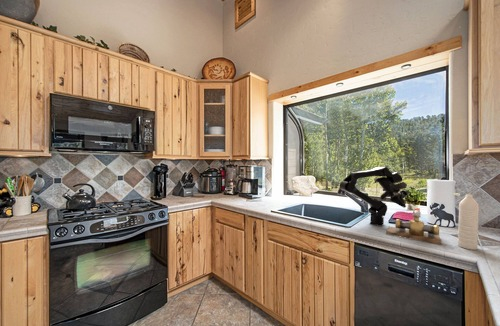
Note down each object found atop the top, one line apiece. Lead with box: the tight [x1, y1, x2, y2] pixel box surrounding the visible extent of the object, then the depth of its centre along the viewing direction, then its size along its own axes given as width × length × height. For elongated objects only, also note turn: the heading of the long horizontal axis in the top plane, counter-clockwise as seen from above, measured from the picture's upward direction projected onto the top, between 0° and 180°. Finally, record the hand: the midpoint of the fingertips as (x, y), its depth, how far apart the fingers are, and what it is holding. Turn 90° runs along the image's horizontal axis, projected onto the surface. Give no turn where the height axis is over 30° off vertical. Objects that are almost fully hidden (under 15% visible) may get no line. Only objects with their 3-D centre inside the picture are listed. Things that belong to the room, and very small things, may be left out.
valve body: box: [394, 217, 440, 238], centre depth 113 cm, size 18×6×9 cm, turn 51°
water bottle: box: [452, 192, 480, 251], centre depth 100 cm, size 9×6×25 cm
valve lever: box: [412, 207, 422, 218], centre depth 116 cm, size 12×3×3 cm, turn 141°
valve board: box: [385, 225, 442, 245], centre depth 114 cm, size 22×11×2 cm, turn 51°
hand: (405, 207), depth 122 cm, fingers closed
